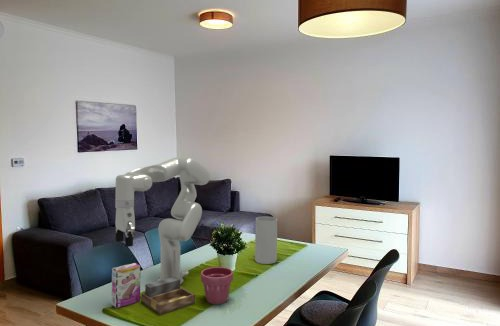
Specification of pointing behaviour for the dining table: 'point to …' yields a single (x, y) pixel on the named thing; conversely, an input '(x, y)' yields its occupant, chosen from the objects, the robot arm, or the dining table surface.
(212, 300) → the plant pot
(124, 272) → the candy bar box
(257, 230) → the cylinder vase
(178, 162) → the robot arm
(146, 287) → the tray
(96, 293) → the dining table surface
